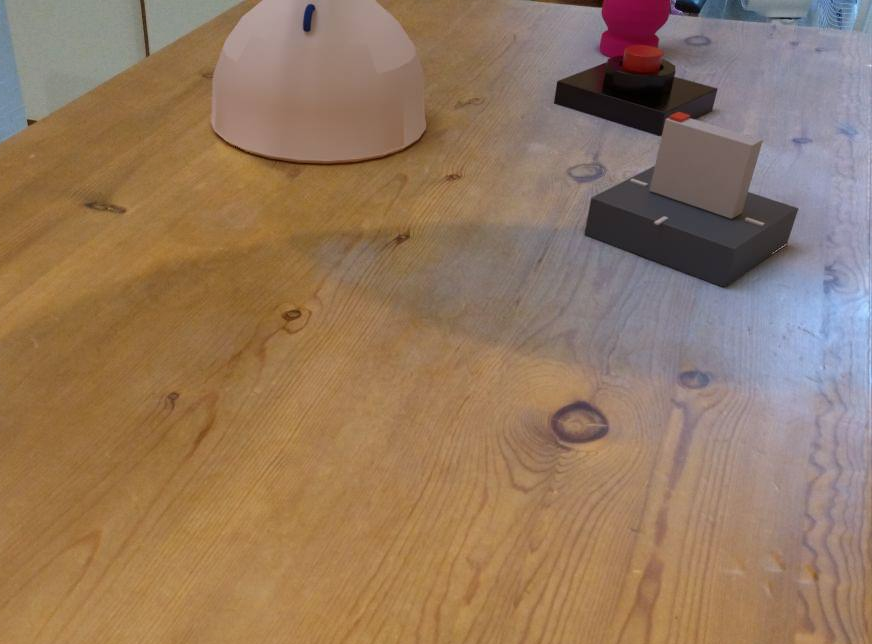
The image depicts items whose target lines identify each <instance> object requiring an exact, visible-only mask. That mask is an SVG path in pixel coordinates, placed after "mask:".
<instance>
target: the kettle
mask: <svg viewBox="0 0 872 644" xmlns="http://www.w3.org/2000/svg"><path fill="white" fill-rule="evenodd" d="M416 48H417V47H416V46H415V44H414V43H413V41H412V40H411V38H410V37H409V36H408V34H407V33H406V31H405V30H404V28H403V26H402V25H401V23H400V22H399V21H398V20H397V19H396V18H395V16H394V15H392V14H391V13H390V12H389V11H388V10H387V9H386V8H384V7H383V6H382V5H381V4H380V3H379V2H377V0H261V1H260V2H259V3H257V4H256V5H255V6H254V7H252V8H251V9H250V10H249V11H247V12H246V13H245V14H243V16H242V17H241V18H240V19H239V21H238V23H237V24H236V25H235V26H234V27H233V29H232V30H231V32H230V33H229V34H228V36H227V37H226V38H225V41H224V43H223V46H222V49H221V51H220V54H219V57H218V60H217V63H216V65H215V68H214V72H213V75H212V88H211V89H212V90H211V91H212V92H211V96H212V97H211V117H210V118H209V121H210V123H211V127H212V129H213V131H214V132H215V134H217V135H218V136H219V137H221V138H222V140H224V141H225V142H226V143H227V142H228V143H227V144H229V145H231V146H233V147H235V146H236V147H235V148H237V147H238V148H237V149H239V148H240V149H239V150H241V149H242V150H241V151H243V150H244V152H246V153H248V152H249V153H248V154H253V155H256V156H259V157H263V158H267V159H271V160H278V161H284V162H291V163H299V164H301V163H302V164H323V165H324V164H326V165H329V164H343V163H357V162H364V161H368V160H373V159H379V158H383V157H386V156H389V155H393V154H396V153H399V152H401V151H403V150H404V149H406V148H408V147H410V146H411V145H413V144H414V143H416V142H417V141H418V140H419V139H420V138H421V136H422V135H423V134H424V132H425V131H426V129H427V120H426V113H425V112H426V106H425V105H426V101H425V100H426V99H425V98H426V97H425V96H426V93H425V74H424V71H423V67H422V63H421V60H420V58H419V54H418V51H417V49H416Z"/></svg>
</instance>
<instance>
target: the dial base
mask: <svg viewBox="0 0 872 644" xmlns="http://www.w3.org/2000/svg"><path fill="white" fill-rule="evenodd" d="M654 169H655V165H654V166H652V167H650V168H647V169H645V170H643V171H641V172H640V173H638V174H635V175H633V176H632V177H630V178H627V179H626V180H624V181H622V182H620V183H618V184H616V185H613V186H612V187H610V188H608V189H606V190H604V191H602V192H599V193H597V194H596V195H594V196H592V197H590V203H589V208H588V213H587V218H586V224H585V228H584V236H587V237H590V238H593V239H595V240H598V241H600V242H603V243H606V244H607V245H608V244H609V245H612V246H614V247H616V248H619V249H621V250H624V251H627V252H629V253H632V254H635V255H638V256H640V257H643V258H645V259H648V260H650V261H654V262H656V263H658V264H661V265H664V266H666V267H669V268H673V269H674V270H677V271H680V272H682V273H685V274H688V275H690V276H693V277H696V278H698V279H701V280H703V281H706V282H709V283H711V284H714V283H715V284H714V285H716V286H719V285H720V286H719V287H722V286H723V287H722V288H725V287H727V286H728V285H730V284H731V283H732V282H734V281H735V280H737V279H738V278H740V277H741V276H743V275H744V274H746V273H747V272H749V271H750V270H752V269H753V268H755V267H756V266H758V265H759V264H761V263H762V262H764V261H765V260H767V259H768V258H769V257H768V256H770V255H771V254H772V253H773V252H775V251H776V250H778V249H779V248H781V247H782V246H784V245H785V244H787V245H788V243H789V240H790V236H791V233H792V230H793V228H794V224H795V221H796V218H797V215H798V212H799V208H798V207H796V206H793V205H790V204H787V203H784V202H780V201H778V200H775V199H771V198H768V197H765V196H762V195H759V194H756V193H753V192H750V191H748V193H747V197H746V200H745V204H744V207H743V211H742V213H741V214H739V215H738V216H736V217H734V218H733V219H730V218H727V217H724V216H721V215H718V214H715V213H712V212H710V211H707V210H704V209H701V208H698V207H695V206H692V205H689V204H686V203H683V202H680V201H677V200H674V199H671V198H669V197H666V196H663V195H660V194H657V193H654V192H651V191H650V186H651V182H652V177H653V173H654ZM771 256H772V255H771ZM771 256H770V257H771ZM767 257H768V258H767ZM766 258H767V259H766ZM764 259H765V260H764ZM763 260H764V261H763ZM761 261H762V262H761ZM760 262H761V263H760ZM758 263H759V264H758ZM757 264H758V265H757ZM755 265H756V266H755ZM754 266H755V267H754ZM752 267H753V268H752ZM751 268H752V269H751ZM749 269H750V270H749ZM748 270H749V271H748ZM746 271H747V272H746ZM745 272H746V273H745ZM743 273H744V274H743ZM742 274H743V275H742ZM739 276H740V277H739ZM737 277H738V278H737ZM736 278H737V279H736ZM733 280H734V281H733ZM730 282H731V283H730ZM727 284H728V285H727ZM724 286H725V287H724Z"/></svg>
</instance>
